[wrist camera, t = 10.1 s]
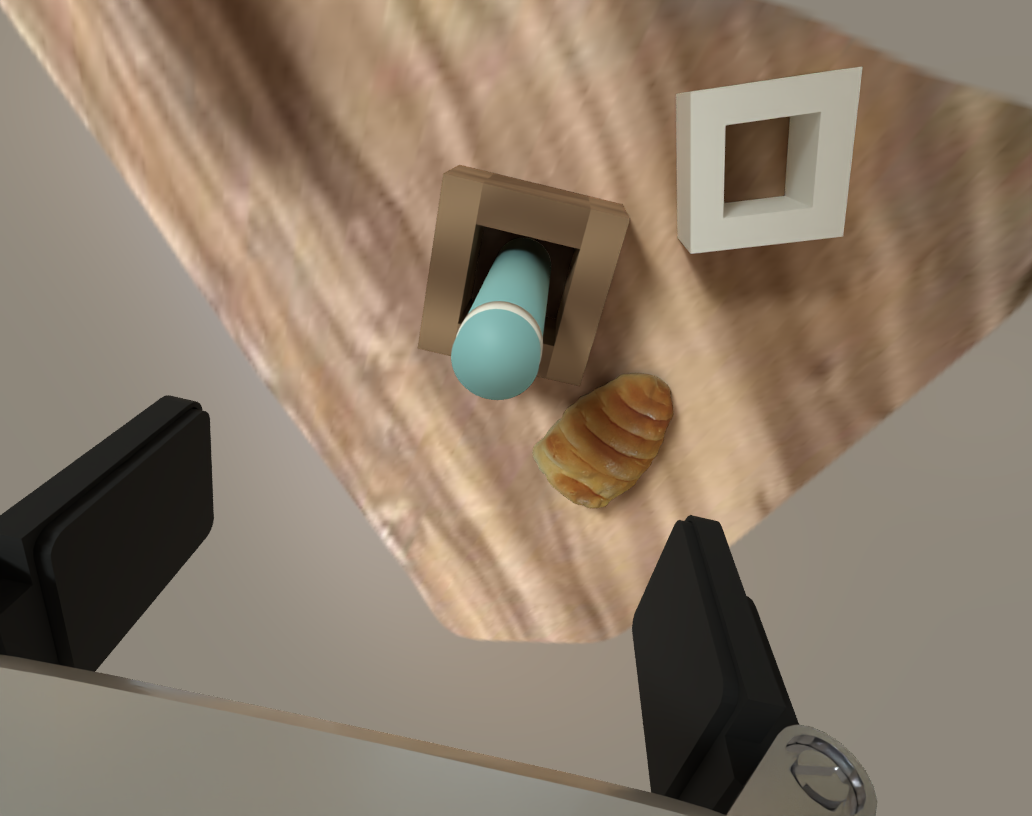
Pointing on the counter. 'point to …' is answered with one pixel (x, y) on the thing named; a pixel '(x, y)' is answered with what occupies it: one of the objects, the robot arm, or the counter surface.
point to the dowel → (505, 324)
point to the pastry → (606, 439)
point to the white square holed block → (810, 161)
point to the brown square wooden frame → (534, 214)
